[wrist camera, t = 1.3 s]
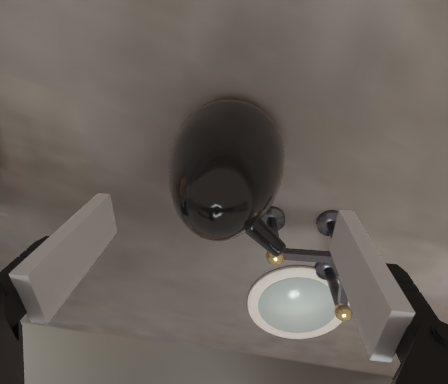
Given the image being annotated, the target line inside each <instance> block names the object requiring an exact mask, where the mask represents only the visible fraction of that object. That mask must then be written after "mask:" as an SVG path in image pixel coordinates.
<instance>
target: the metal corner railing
mask: <svg viewBox="0 0 448 384" xmlns="http://www.w3.org/2000/svg"><path fill="white" fill-rule="evenodd" d="M337 215H338V211H332V210H331V211H326V212H324V213H322V214H321V215H320V216H319V217H318V219H317V222H316V224H317V227H318V230H319V231H320V233H322V234H323V235H326V236H331V238H332V236H333V232H334V228H335V224H336V219H337ZM261 219H262V220H263V221H264V222H265V223H266V224H267V225H268V226H269V227H270V229H271V230H272V231H273V232H274V233H275V234H276V235H277V236H278V237H279V234H278V230H280V229H281V228H282V227H283V226H284V224H285V217H284V213H283V212H282V211H281V210H280V209H279V208H276V207H270V208H269V210H268V211H267V212H266V214H265V215H264V216H263V217H262V218H261ZM266 258H267V260H268V262H269V263H270V264H272V265H279V264H281V263H282V262H283V261H284V260H295V261H308V262H317V263H316V265H315V269H316V274H317V276H318V277H319V278H321V279H323V280H327V283H328V286H329V289H330V292H331V295H332V298H333V301H334V304H335V308H334V313H335V316H336V317H337V318H338V319H339V320H341V321H348V320H350V319H351V317H352V310H351V308H350V307H349V306H348V299H347V296H346V294H345V291H344V288H343V285H342V283H341V280H340V279H339V283H338V281H337V277H338V276H339V275H338V272H337V269H336V266H335V264H334V261H333V258H332V256H331V253H330V251H317V250H303V249H289V248H285V251H284V252H283V253H282V254H281V255H280V256H274V255H272V254H271V253H270V252H269V251H267V253H266Z"/></svg>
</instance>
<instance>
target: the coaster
mask: <svg viewBox="0 0 448 384" xmlns="http://www.w3.org/2000/svg"><path fill="white" fill-rule="evenodd" d="M337 281H338V283H339V279H337ZM348 306H349V302H348ZM334 308H335V304H334V301H333V298H332V295H331V292H330V289H329V286H328V283H327V280H323V279H321V278H319V277H318V276H317V274H316V269H315V267H310V266H287V267H282V268H278V269H275V270H273V271H270V272H268V273H267V274H265V275H263V276H262V277H260V278H259V279H258V280H257V281H256V282H255V283H254V285H253V286H252V288H251V289H250V292H249V294H248V311H249V314H250V316H251V318H252V319H253V321H254V322H255V323H256V324H257V325H258V326H259V327H260V328H262V329H263V330H265V331H267V332H269V333H271V334H273V335H276V336H279V337H284V338H290V339H305V338H312V337H316V336H320V335H323V334H325V333H327V332H329V331H331V330H333V329H334V328H336V327H337V326H338V325H339V324H340V323H341V322H342V321H341V320H339V319H338V318H337V317H336V316H335V313H334Z"/></svg>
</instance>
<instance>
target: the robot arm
mask: <svg viewBox="0 0 448 384" xmlns="http://www.w3.org/2000/svg"><path fill="white" fill-rule="evenodd" d="M116 234H117V227H116V222H115V217H114V212H113V206H112V201H111V196H110V194H103V193H97V194H96V195H95V196H94V197H93V198H92V199H91V200H90V201H88V202H87V203H86V204H85V205H84V206H83V207H82V208H81V209H80V210H78V211H77V212H76V213H75V214H74V215H73V216H72V217H71V218H70V219H69V220H67V221H66V222H65V223H64V224H63V225H62V226H61V227H60V228H59V229H57V230H56V231H55V232H54V233H53V234H52V235H51V236H45V237H43V238H42V239H40V240H38V241H36V242H34V243H33V244H32V245H31V246H30V247H29V248H28V249H27V250H26V251H24V252H23V253H22V254H21V255H20V257H17V258H16V259H15V260H14V261H13V262H11V263H10V264H9V265H8V266H7V267H6V268H4V269H3V270H2V271H1V272H0V384H24V362H23V337H22V325H21V322H20V319H21V318H22V317H23V316H24V315H25V314H26V313H27V316H28V318H29V320H30V322H31V323H40V324H48V323H49V322H50V321H51V319H52V318H53V317H54V315H55V314H56V313H57V311H58V310H59V309H60V307H61V306H62V305H63V303H64V302H65V301H66V299H67V298H68V297H69V296H70V294H71V293H72V292H73V290H74V289H75V288H76V286H77V285H78V284H79V282H80V281H81V280H82V278H83V277H84V276H85V274H86V273H87V272H88V270H89V269H90V268H91V267H92V265H93V264H94V263H95V261H96V260H97V259H98V257H99V256H100V255H101V253H102V252H103V251H104V249H105V248H106V247H107V245H108V244H109V243H110V242H111V240H112V239H113V238H114V236H115V235H116ZM329 250H330V253H331V256H332V258H333V261H334V264H335V266H336V269H337V272H338V275H339V277H340V280H341V283H342V285H343V288H344V291H345V294H346V296H347V299H348V302H349V304H350V307H351V310H352V313H353V315H354V318H355V321H356V323H357V326H358V329H359V332H360V334H361V337H362V340H363V342H364V345H365V348H366V351H367V353H368V356H369V359H370V360H374V361H383V362H391V361H392V359H393V357H394V355H395V353H396V354H397V356H398V358H399V360H400V363H401V364H400V366H399V368H398V370H397V372H396V374H395V375H394V377H393V379H392V380H393V381H392V383H391V384H448V324H446V323H444V322H441V321H440V320H439V319H438V318H437V316H436V315H435V313H434V312H433V310H432V309H431V307H430V306H429V304H428V303H427V301H426V300H425V298H424V297H423V295H422V294H421V292H419V290H418V288H417V287H416V285H415V284H414V282H413V281H412V279H411V278H410V276H409V275H408V273H407V272H405V271H404V270H403V269H402V268H401V267H399V266H398V265H397V264H387V263H385V262H384V260H383V259H382V257H381V255H380V254H379V252H378V250H377V249H376V247H375V245H374V244H373V242H372V240H371V239H370V237H369V235H368V234H367V232H366V231H365V229H364V227H363V226H362V224H361V222H360V221H359V219H358V217H357V216H356V214H355V212H354V211H353V210H339V211H338V215H337V219H336V224H335V228H334V232H333V236H332V240H331V244H330V248H329Z"/></svg>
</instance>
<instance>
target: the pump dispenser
mask: <svg viewBox="0 0 448 384" xmlns="http://www.w3.org/2000/svg"><path fill="white" fill-rule="evenodd" d="M283 169H284V146H283V142H282V138H281V135H280V133H279V130H278V128H277V127H276V125H275V123H274V122H273V121H272V119H271V118H270V117H269V116H268V115H267V114H266V113H265V112H264V111H262V110H261V109H259V108H258V107H256V106H254V105H252V104H250V103H247V102H244V101H240V100H233V99H224V100H218V101H213V102H210V103H208V104H205V105H204V106H202V107H200V108H198V109H197V110H196V111H194V112H193V113H192V114H191V115H190V116H189V117H188V118H187V119H186V120H185V122H184V123H183V125H182V126H181V128H180V129H179V131H178V133H177V136H176V138H175V141H174V143H173V146H172V150H171V154H170V160H169V185H170V192H171V197H172V200H173V204H174V207H175V209H176V211H177V213H178V215H179V217H180V219H181V220H182V221H183V223H184V224H185V225H186V226H187V227H188V228H189V229H190V230H191V231H192V232H193V233H195V234H196V235H198V236H200V237H202V238H205V239H208V240H212V241H225V240H229V239H232V238H235V237H238V236H240V235H242V234H243V233H246V234H248V235H249V236H250V237H251V238H253V239H254V240H255V241H256V242H258V243H259V244H260V245H261V246H262V247H264V248H265V249H266V250H267V251H269V252H270V253H271V254H272V255H274V256H280V255H281V254H282V253H283V252H284V251H285V248H286V245H285V243H284V242H283V241H282V240H281V239H280V238H279V237H278V236H277V235H276V234H275V233H274V232H273V231H272V230H271V229H270V227H269V226H268V225H267V224H266V223H265V222H264V221H263V220H262V219H261V218H262V217H263V216H264V215H265V214H266V212H267V211H268V210H269V208H270V207H271V205H272V203H273V201H274V199H275V197H276V195H277V193H278V190H279V187H280V184H281V180H282V176H283Z"/></svg>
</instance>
